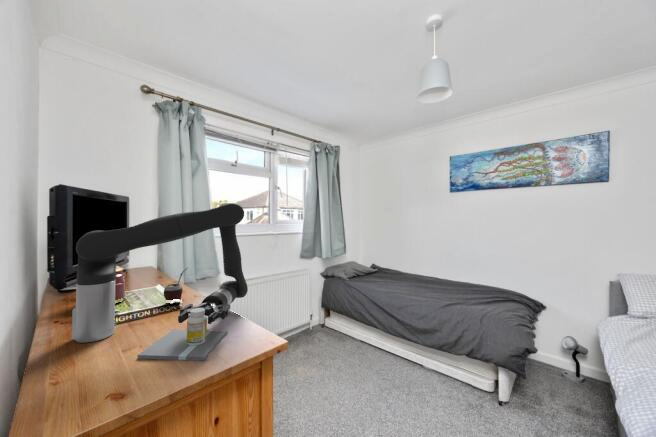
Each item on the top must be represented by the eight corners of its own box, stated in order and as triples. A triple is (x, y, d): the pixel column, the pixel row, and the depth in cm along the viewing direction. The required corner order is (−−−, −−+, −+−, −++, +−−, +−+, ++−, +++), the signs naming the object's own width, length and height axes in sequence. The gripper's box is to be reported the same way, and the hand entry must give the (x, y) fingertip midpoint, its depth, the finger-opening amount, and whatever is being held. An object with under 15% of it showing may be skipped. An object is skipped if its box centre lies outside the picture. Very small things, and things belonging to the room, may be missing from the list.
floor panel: (137, 358, 71) (137, 355, 71) (172, 332, 87) (172, 329, 87) (204, 360, 71) (204, 356, 71) (227, 334, 87) (227, 330, 87)
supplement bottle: (195, 347, 75) (196, 314, 75) (182, 343, 77) (183, 311, 77) (210, 339, 80) (211, 308, 80) (197, 336, 82) (198, 305, 82)
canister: (122, 296, 122) (123, 258, 122) (127, 303, 113) (128, 262, 113) (84, 302, 113) (85, 261, 112) (86, 310, 103) (87, 266, 103)
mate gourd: (159, 306, 111) (160, 270, 111) (170, 300, 119) (171, 267, 118) (177, 306, 111) (178, 271, 111) (187, 300, 119) (188, 267, 119)
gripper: (197, 291, 93) (170, 306, 77) (238, 292, 93) (218, 308, 77) (197, 312, 93) (169, 332, 77) (237, 313, 93) (218, 333, 77)
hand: (194, 320), depth 77 cm, fingers open, 8 cm apart
